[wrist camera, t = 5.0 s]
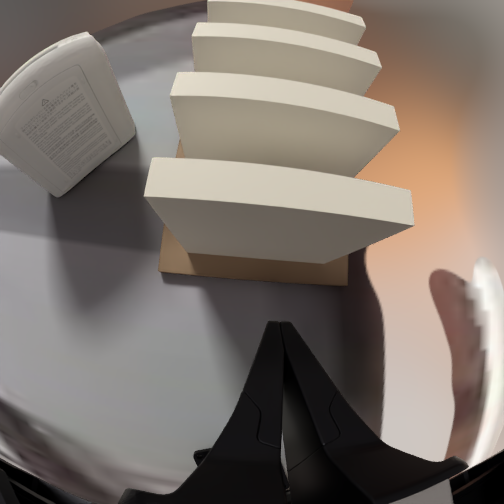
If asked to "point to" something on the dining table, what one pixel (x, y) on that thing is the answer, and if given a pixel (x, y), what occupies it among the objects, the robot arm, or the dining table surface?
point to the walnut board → (247, 264)
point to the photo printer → (63, 114)
